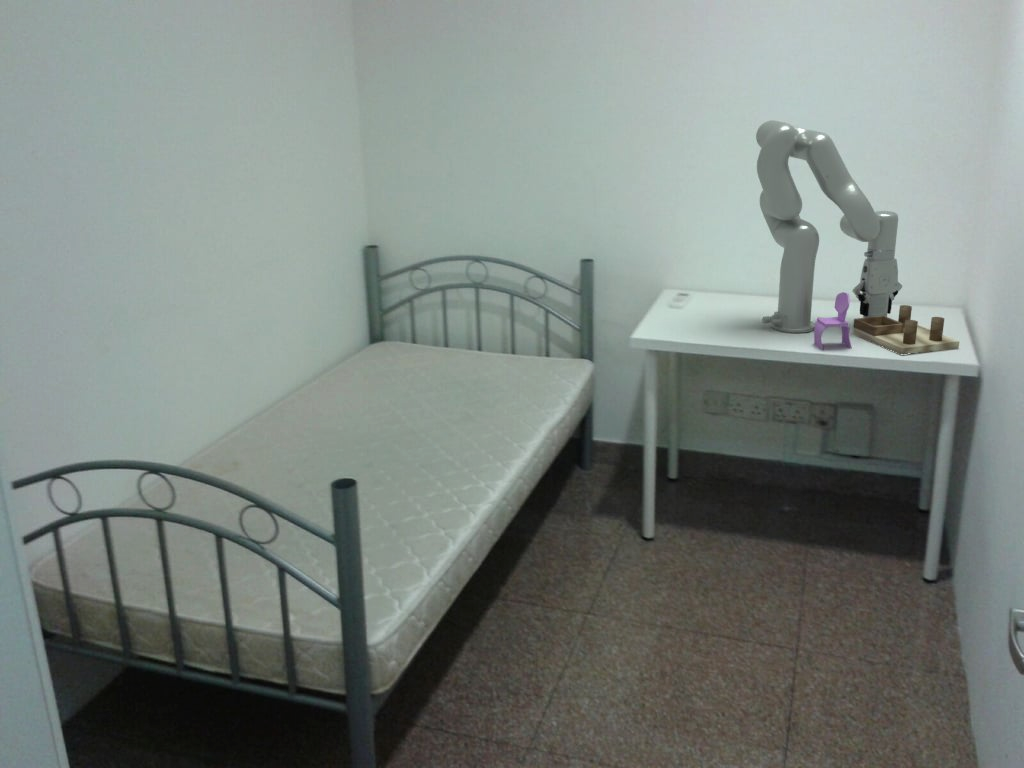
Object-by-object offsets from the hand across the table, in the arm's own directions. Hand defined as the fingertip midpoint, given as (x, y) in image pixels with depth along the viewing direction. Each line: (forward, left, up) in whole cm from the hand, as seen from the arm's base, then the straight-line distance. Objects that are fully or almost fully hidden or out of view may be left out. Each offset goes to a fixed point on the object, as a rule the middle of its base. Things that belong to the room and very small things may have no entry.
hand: (875, 313), depth 289 cm
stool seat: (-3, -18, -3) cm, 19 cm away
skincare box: (0, 0, -3) cm, 3 cm away
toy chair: (-24, -15, -3) cm, 29 cm away
